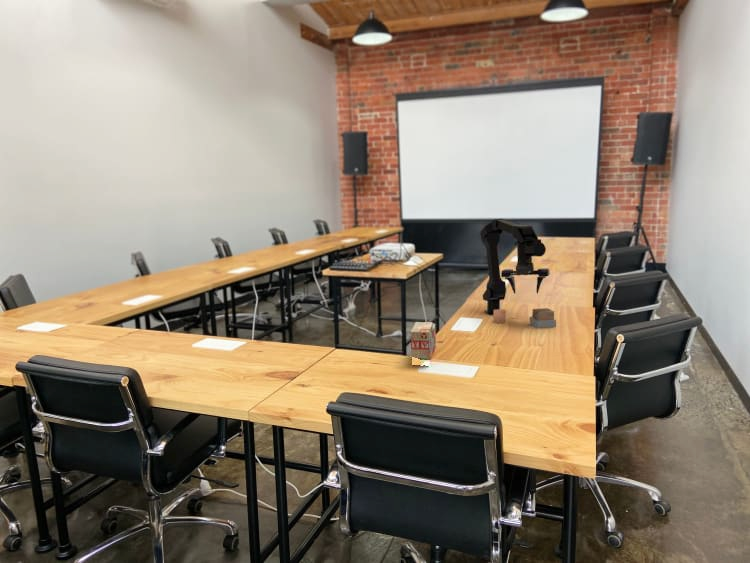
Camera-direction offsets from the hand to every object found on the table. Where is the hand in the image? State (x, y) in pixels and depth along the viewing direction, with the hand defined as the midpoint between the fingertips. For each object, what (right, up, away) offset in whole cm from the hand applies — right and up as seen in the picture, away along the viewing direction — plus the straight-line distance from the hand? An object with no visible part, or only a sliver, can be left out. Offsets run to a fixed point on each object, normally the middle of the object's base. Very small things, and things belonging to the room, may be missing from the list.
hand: (525, 293), depth 226 cm
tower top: (+7, -10, 0) cm, 13 cm away
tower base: (+7, -14, +1) cm, 16 cm away
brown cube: (-9, -13, +9) cm, 18 cm away
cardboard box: (-46, -22, -34) cm, 61 cm away
